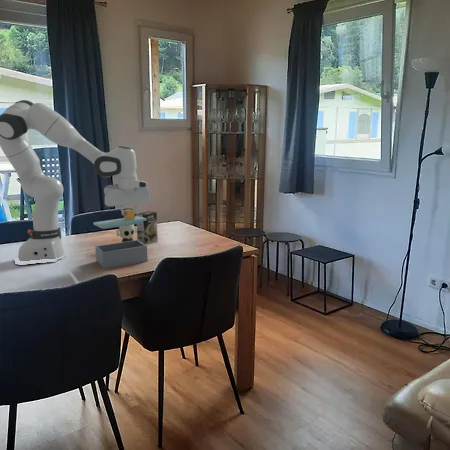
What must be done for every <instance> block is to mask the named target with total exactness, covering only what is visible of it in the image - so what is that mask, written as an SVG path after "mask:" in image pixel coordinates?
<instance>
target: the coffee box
mask: <svg viewBox="0 0 450 450" xmlns="http://www.w3.org/2000/svg"><path fill="white" fill-rule="evenodd" d="M135 216H139V217H143V218H147V220H146V221H143V223H139V224H136V227H137V234H136V235H137V238H136V240H139V241H140V242H142V243H143V244H145V245H146V246H149V245H151V244H155V243H158V242H159V241H158V239H159V238H158V237H159V235H158V213H157V212H156V211H149V210H148V211H143V212H138V213H136V214H135Z"/></svg>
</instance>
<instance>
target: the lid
mask: <svg viewBox="0 0 450 450" xmlns="http://www.w3.org/2000/svg"><path fill="white" fill-rule="evenodd" d="M123 210H124V211H126V215H123V218H117V219H108V220H101V221H95V222H93V225H94V226H96V227H97V228H100V229H102V230H105V229H111V228H119V226H126V225H132V224H134V225H137V224H139V223H143V221H146V220H147V218H143V217H139V216H136V214H134V210H133V209H130V208H128V209H123Z"/></svg>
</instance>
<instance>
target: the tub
mask: <svg viewBox="0 0 450 450" xmlns="http://www.w3.org/2000/svg"><path fill="white" fill-rule="evenodd" d="M94 247H95V258H96V263H97V264H98V265H99V266H100V267H101V268H102V270H106V269H110V268H117V267H123V266H128V265H135V264H139V263H146V262H148V257H149V256H148V245H145V244H143V243H142V242H140V241H139V240H137V239H136V240H135V239H133V241H127V242H122V241H121V242H115V243H108V244H100V245H95V246H94Z"/></svg>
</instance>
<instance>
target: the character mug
mask: <svg viewBox="0 0 450 450" xmlns="http://www.w3.org/2000/svg"><path fill="white" fill-rule="evenodd" d="M118 228H119V229H116V236H117V237H119V236H120V238H122V239H121V242H127V241H134V239H133V237H135V234H136V233H137V225H136V226H135V224H132V225H126V226H119V227H118Z"/></svg>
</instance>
